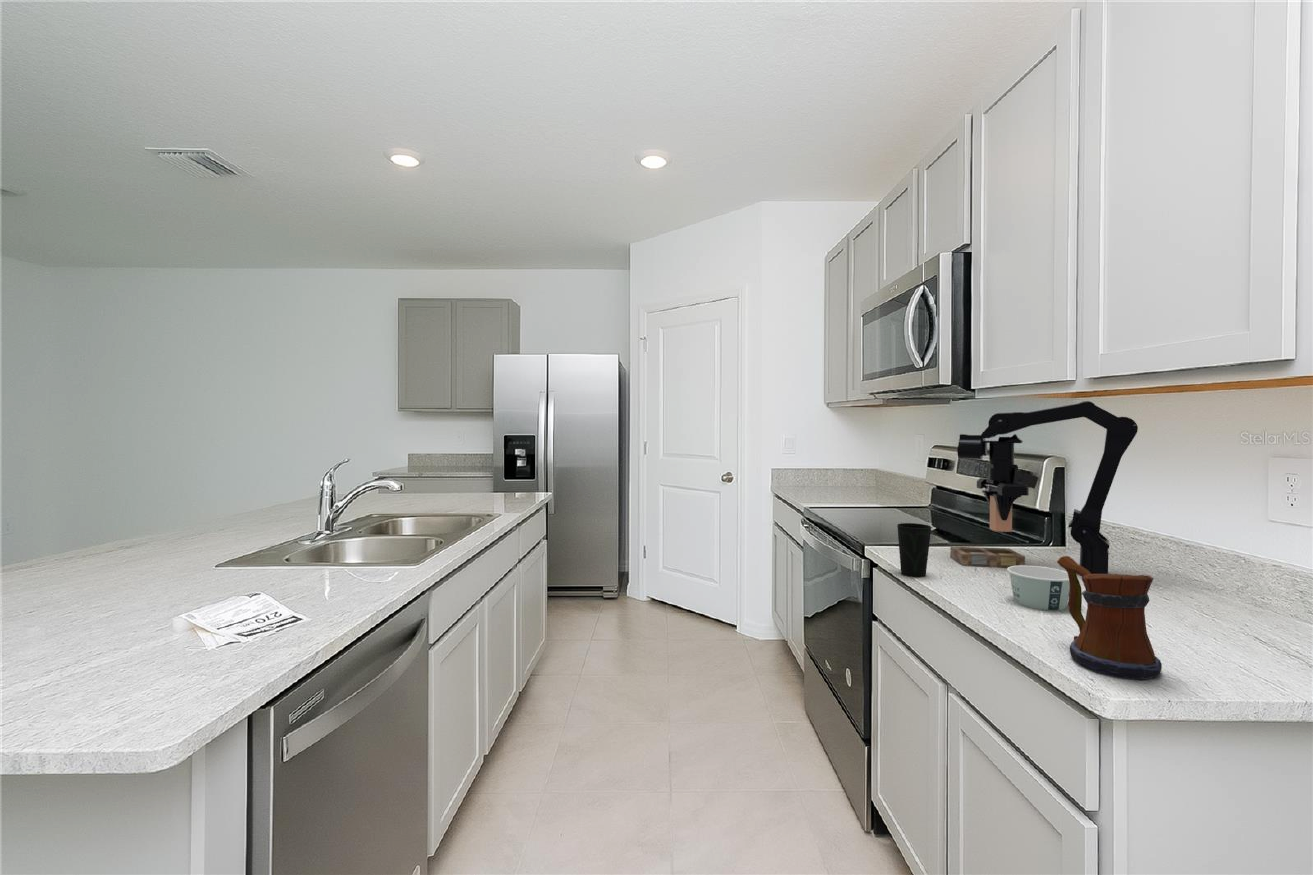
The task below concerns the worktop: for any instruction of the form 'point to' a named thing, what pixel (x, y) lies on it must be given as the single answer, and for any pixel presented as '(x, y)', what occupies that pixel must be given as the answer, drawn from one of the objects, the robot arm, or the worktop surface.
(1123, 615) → the mug
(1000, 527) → the tan rectangular block
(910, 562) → the cup
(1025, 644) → the worktop surface
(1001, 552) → the socket block
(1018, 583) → the food container
